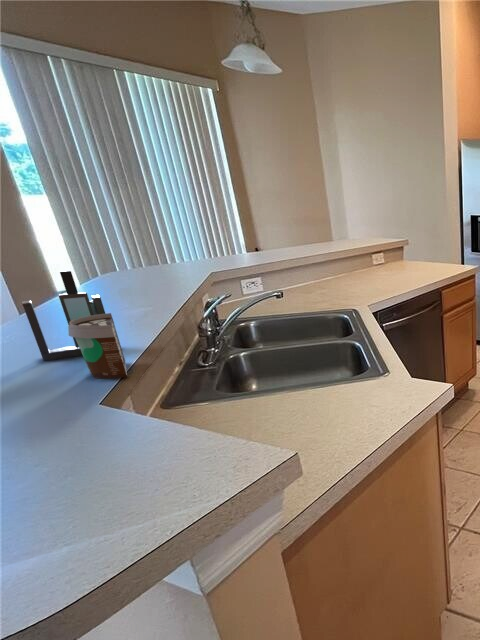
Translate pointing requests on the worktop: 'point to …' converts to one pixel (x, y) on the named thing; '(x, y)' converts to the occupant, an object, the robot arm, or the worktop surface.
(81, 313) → the sash
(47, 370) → the worktop surface
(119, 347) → the food container
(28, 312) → the window frame
